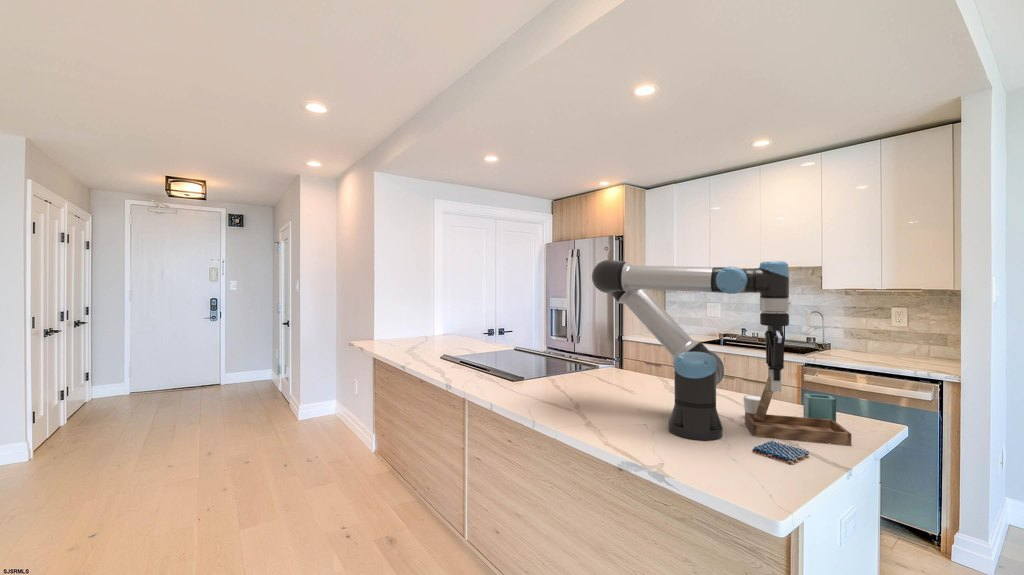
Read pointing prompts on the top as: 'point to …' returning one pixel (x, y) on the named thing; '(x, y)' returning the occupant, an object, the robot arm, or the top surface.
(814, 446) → the top surface
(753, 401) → the shot glass
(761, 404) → the dowel
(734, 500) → the top surface
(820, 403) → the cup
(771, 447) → the woven mat
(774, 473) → the top surface
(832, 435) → the tray
